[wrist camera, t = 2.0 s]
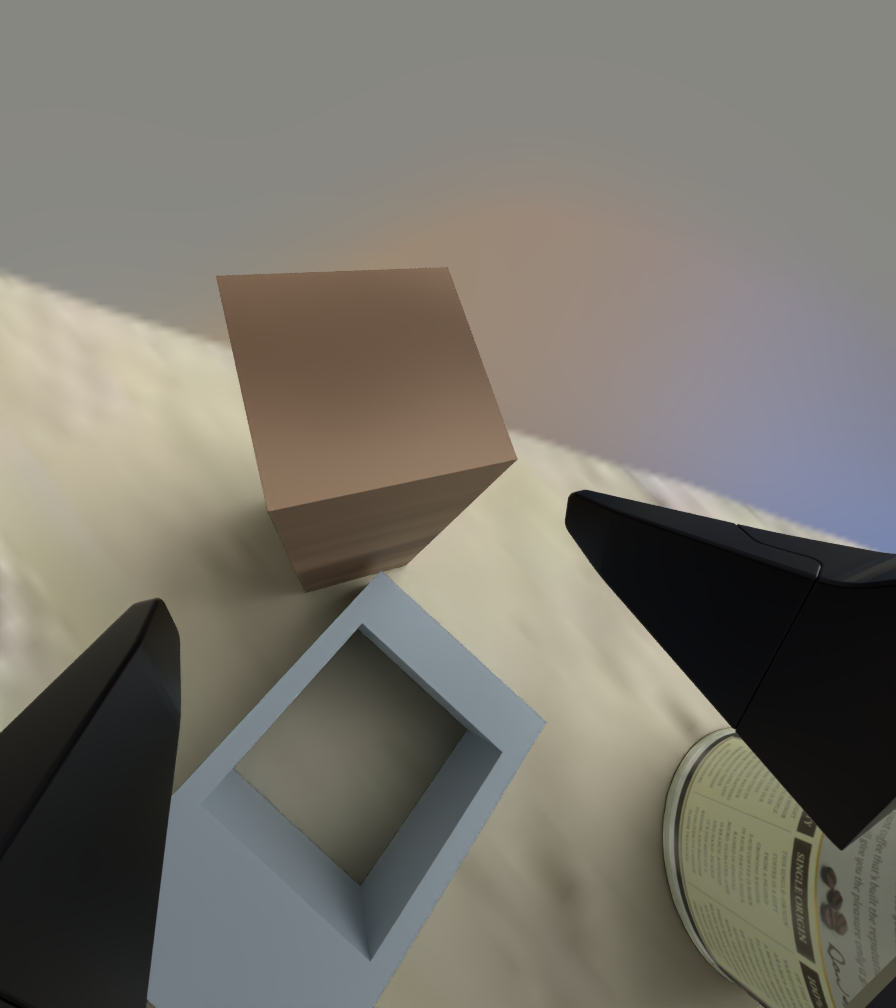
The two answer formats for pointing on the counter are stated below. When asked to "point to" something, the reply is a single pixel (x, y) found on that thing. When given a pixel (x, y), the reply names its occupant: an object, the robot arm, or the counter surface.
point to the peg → (362, 412)
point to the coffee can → (775, 882)
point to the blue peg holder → (306, 868)
